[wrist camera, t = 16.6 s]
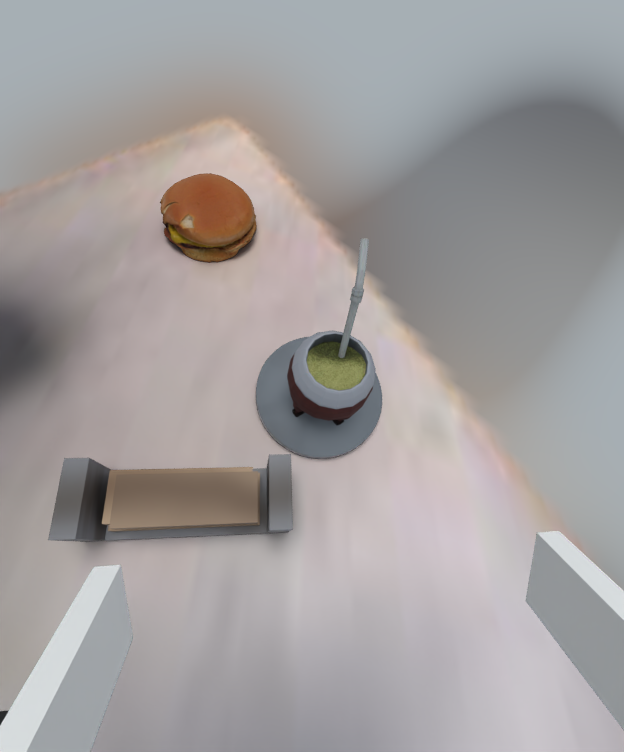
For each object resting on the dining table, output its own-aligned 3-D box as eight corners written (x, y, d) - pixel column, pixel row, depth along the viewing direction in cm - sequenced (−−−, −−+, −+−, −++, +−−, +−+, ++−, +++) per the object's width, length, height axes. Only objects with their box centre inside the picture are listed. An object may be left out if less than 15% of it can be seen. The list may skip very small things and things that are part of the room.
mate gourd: (312, 448, 35) (350, 386, 22) (263, 379, 37) (270, 281, 24) (375, 405, 38) (445, 325, 24) (327, 342, 40) (366, 235, 26)
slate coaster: (229, 404, 37) (228, 399, 36) (307, 321, 42) (308, 315, 41) (331, 486, 35) (334, 484, 34) (400, 390, 40) (405, 385, 39)
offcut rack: (288, 532, 33) (295, 529, 28) (83, 541, 31) (44, 540, 25) (286, 469, 35) (293, 454, 30) (94, 474, 33) (61, 458, 27)
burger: (261, 208, 47) (262, 175, 43) (246, 271, 43) (245, 241, 39) (178, 191, 46) (170, 156, 42) (155, 254, 43) (144, 222, 38)
